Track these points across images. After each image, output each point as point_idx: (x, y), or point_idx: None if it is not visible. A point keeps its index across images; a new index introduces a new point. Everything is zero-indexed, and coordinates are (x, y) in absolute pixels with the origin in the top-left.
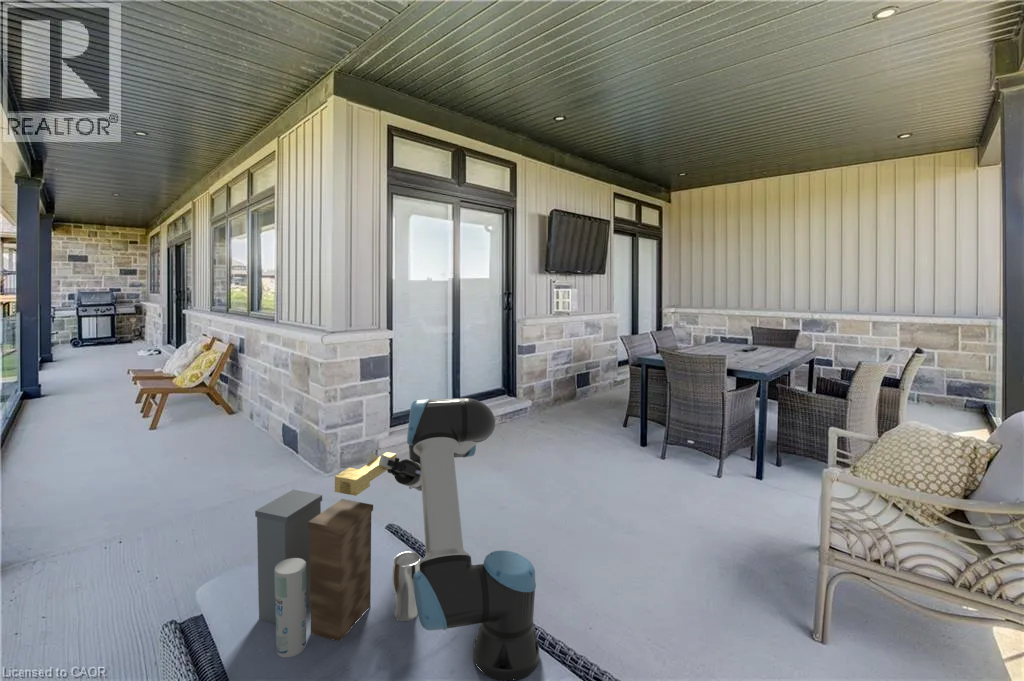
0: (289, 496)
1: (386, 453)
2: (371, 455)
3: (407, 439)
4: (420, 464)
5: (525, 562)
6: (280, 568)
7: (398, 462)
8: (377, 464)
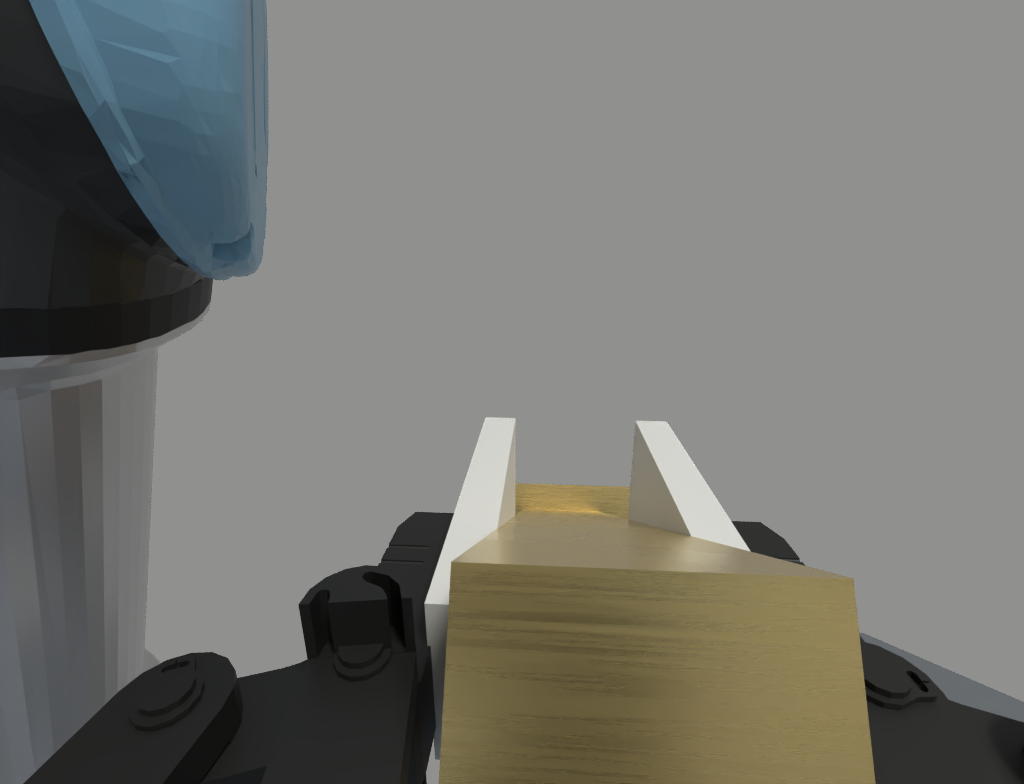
0: (953, 689)
1: (727, 556)
2: (635, 447)
3: (260, 243)
4: (153, 398)
5: None
6: None
7: (312, 682)
8: (531, 516)
